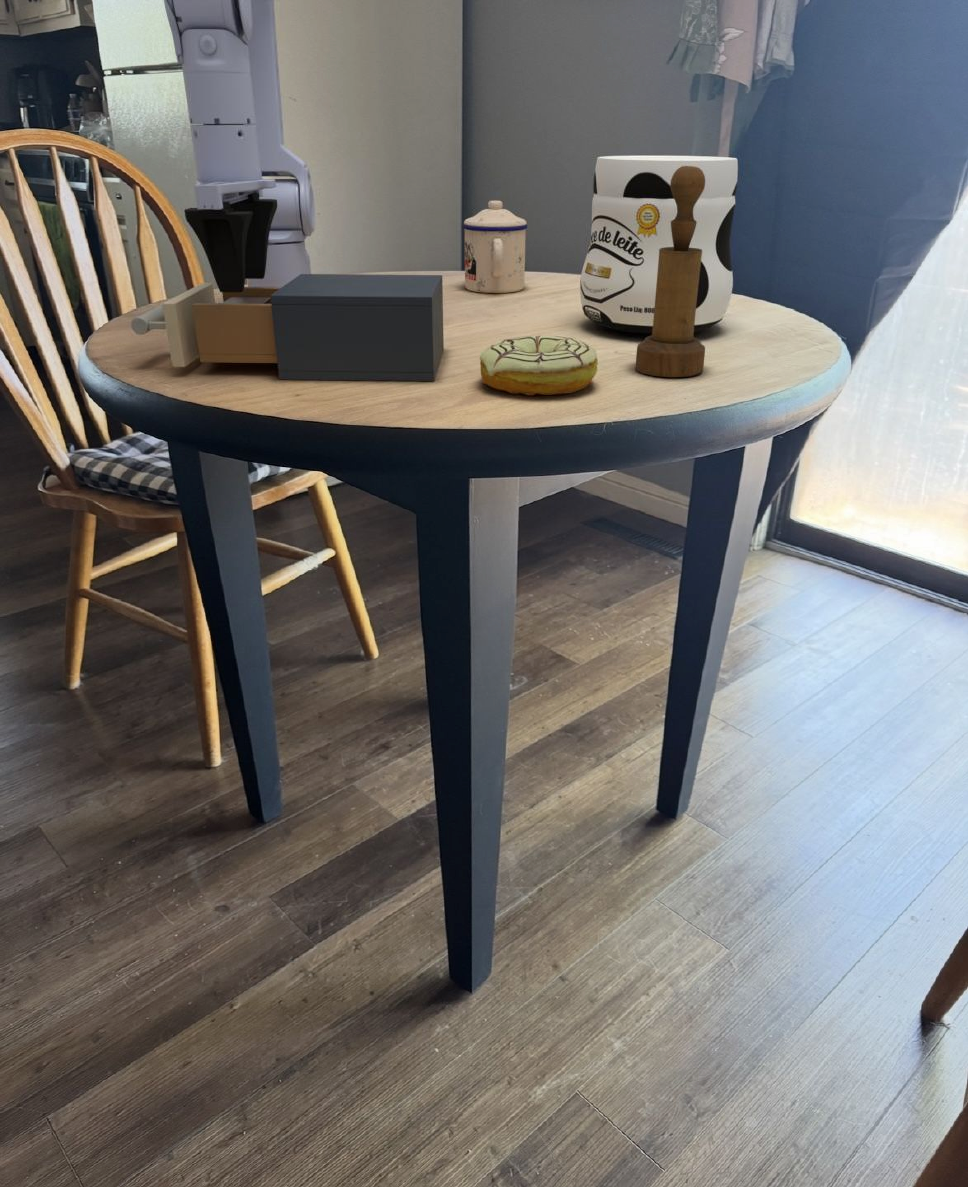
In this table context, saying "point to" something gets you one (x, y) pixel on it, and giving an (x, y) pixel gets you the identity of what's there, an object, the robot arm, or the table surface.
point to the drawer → (214, 326)
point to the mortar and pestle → (676, 290)
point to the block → (249, 300)
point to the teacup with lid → (495, 251)
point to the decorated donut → (539, 365)
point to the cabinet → (359, 327)
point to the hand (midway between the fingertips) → (243, 284)
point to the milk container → (654, 238)
